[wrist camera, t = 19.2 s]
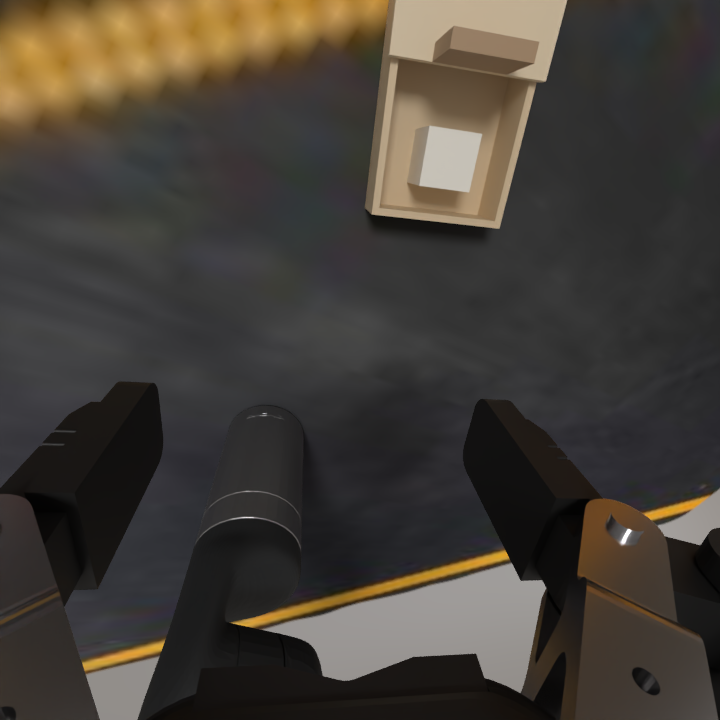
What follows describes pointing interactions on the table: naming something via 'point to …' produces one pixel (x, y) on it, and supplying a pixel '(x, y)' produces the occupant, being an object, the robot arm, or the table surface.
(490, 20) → the lid
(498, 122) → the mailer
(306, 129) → the table surface
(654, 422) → the table surface
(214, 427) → the table surface
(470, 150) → the block
